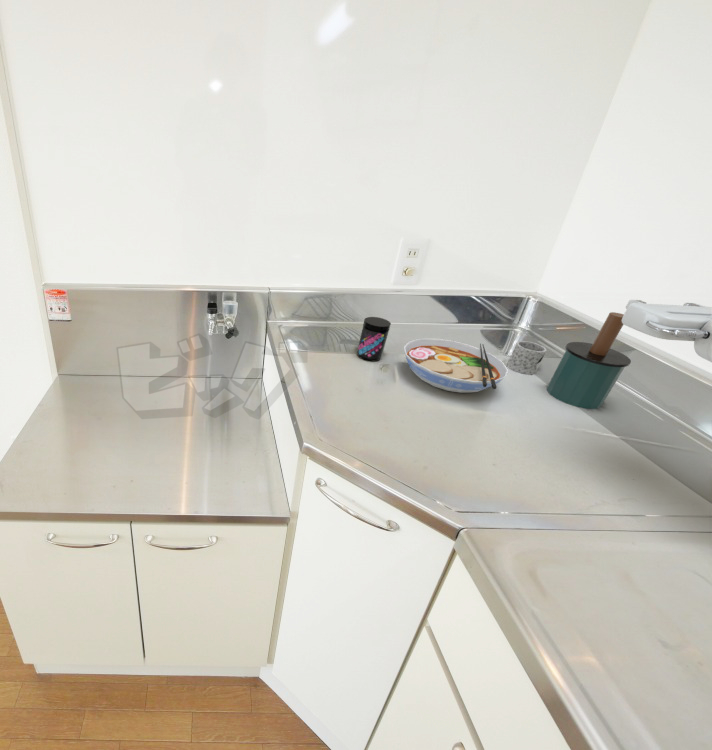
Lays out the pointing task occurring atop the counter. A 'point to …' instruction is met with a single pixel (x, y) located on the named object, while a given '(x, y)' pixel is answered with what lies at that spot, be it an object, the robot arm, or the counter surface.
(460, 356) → the ramen bowl
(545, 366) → the counter surface
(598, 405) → the teal faceted tumbler
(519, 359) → the mug
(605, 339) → the lid
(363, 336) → the supplement container
